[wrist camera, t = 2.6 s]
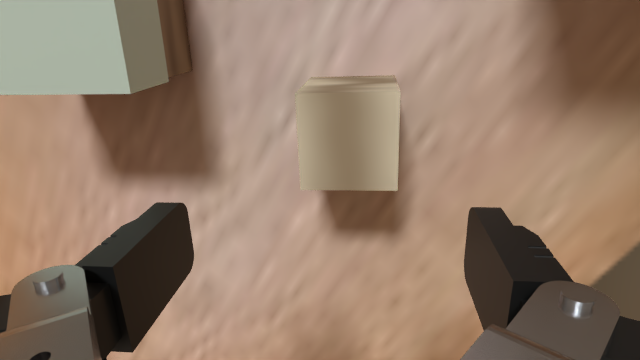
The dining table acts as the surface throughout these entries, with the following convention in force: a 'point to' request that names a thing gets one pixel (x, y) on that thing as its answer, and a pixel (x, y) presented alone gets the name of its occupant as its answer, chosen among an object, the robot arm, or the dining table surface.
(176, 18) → the walnut slab
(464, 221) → the dining table surface
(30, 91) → the sage slab
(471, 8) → the dining table surface
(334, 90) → the maple block
